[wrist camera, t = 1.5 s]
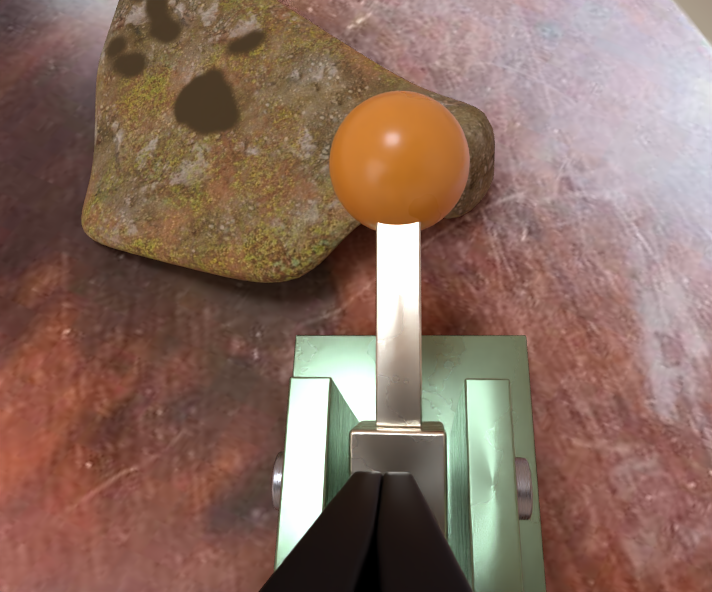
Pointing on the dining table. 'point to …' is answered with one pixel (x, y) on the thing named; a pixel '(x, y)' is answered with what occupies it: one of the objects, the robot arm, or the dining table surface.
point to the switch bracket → (464, 446)
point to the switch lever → (400, 268)
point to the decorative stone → (234, 137)
